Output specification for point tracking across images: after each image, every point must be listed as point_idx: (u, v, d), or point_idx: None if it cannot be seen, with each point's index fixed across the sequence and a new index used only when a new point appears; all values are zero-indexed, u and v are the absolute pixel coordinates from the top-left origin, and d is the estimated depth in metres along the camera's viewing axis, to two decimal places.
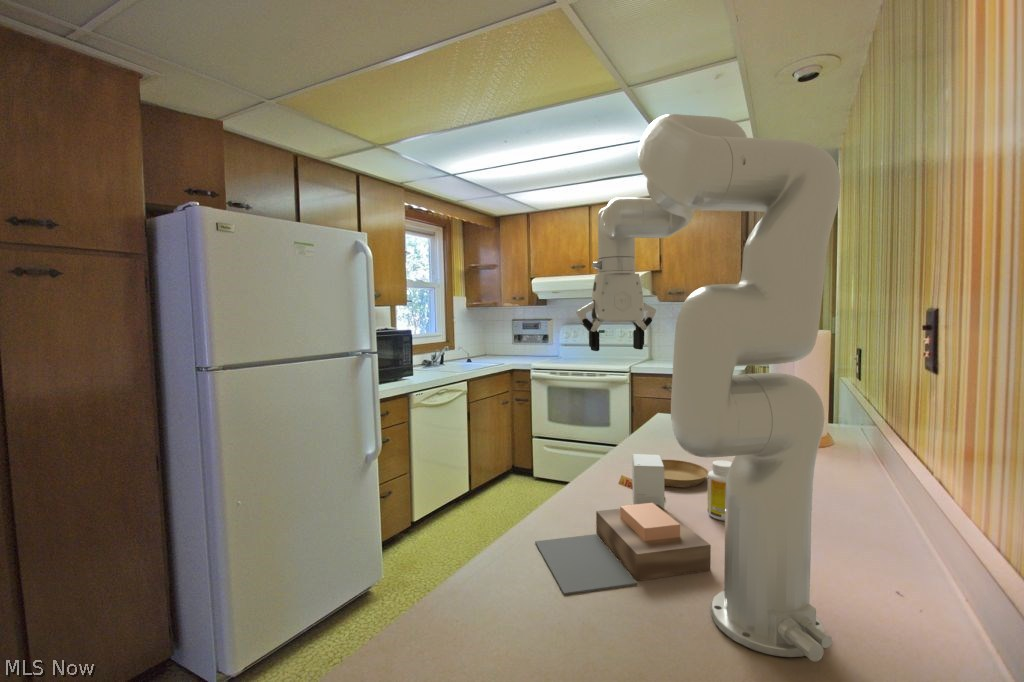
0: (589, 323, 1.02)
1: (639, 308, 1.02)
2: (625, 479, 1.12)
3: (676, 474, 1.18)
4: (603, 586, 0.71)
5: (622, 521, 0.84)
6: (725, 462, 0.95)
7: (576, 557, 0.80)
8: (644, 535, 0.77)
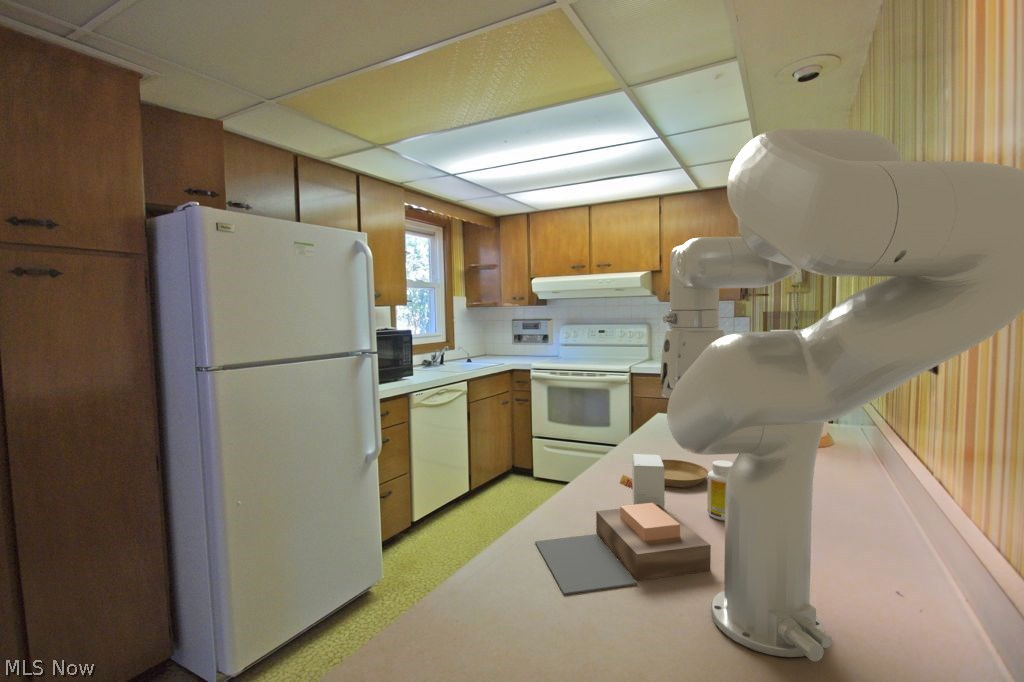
0: None
1: None
2: (626, 479, 1.12)
3: (676, 474, 1.18)
4: (603, 586, 0.71)
5: (622, 521, 0.84)
6: (725, 462, 0.95)
7: (576, 557, 0.80)
8: (644, 535, 0.77)
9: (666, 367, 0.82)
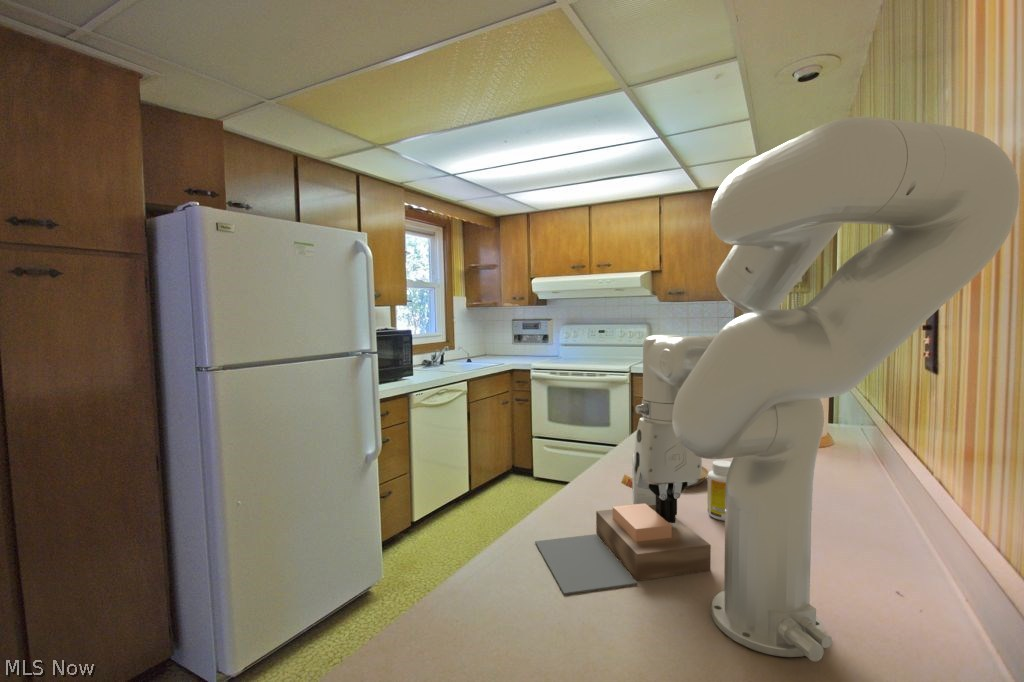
0: (657, 489, 0.81)
1: (696, 465, 0.80)
2: (627, 479, 1.12)
3: None
4: (603, 586, 0.71)
5: None
6: (725, 462, 0.95)
7: (576, 557, 0.80)
8: (635, 536, 0.77)
9: (639, 456, 0.82)
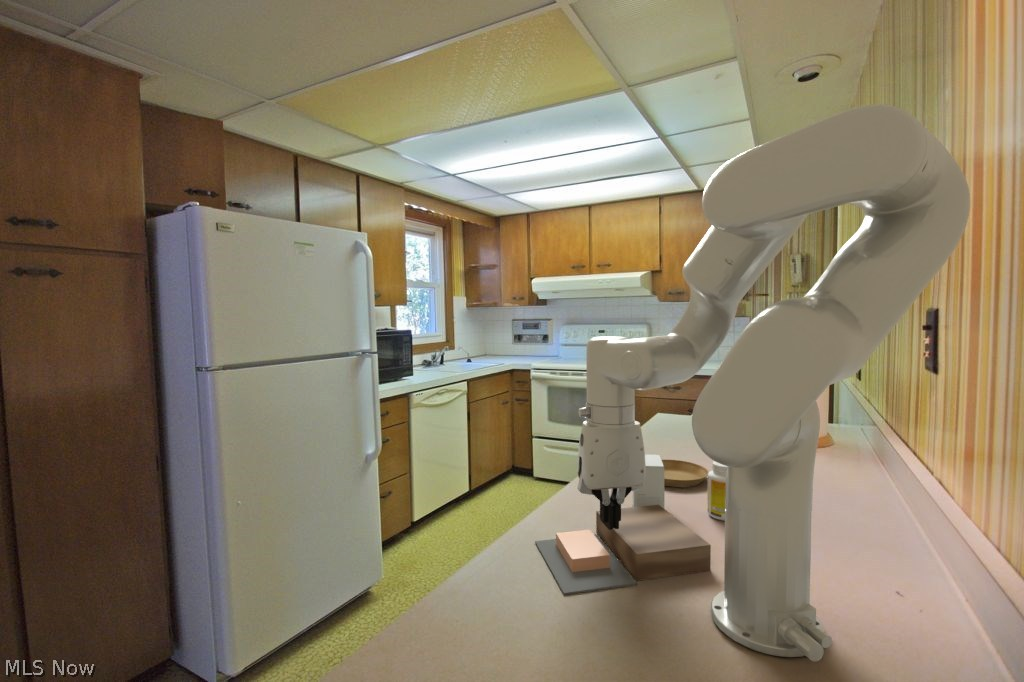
0: (600, 494, 0.79)
1: (640, 469, 0.78)
2: None
3: (676, 474, 1.18)
4: (603, 586, 0.71)
5: (622, 521, 0.84)
6: None
7: None
8: None
9: None
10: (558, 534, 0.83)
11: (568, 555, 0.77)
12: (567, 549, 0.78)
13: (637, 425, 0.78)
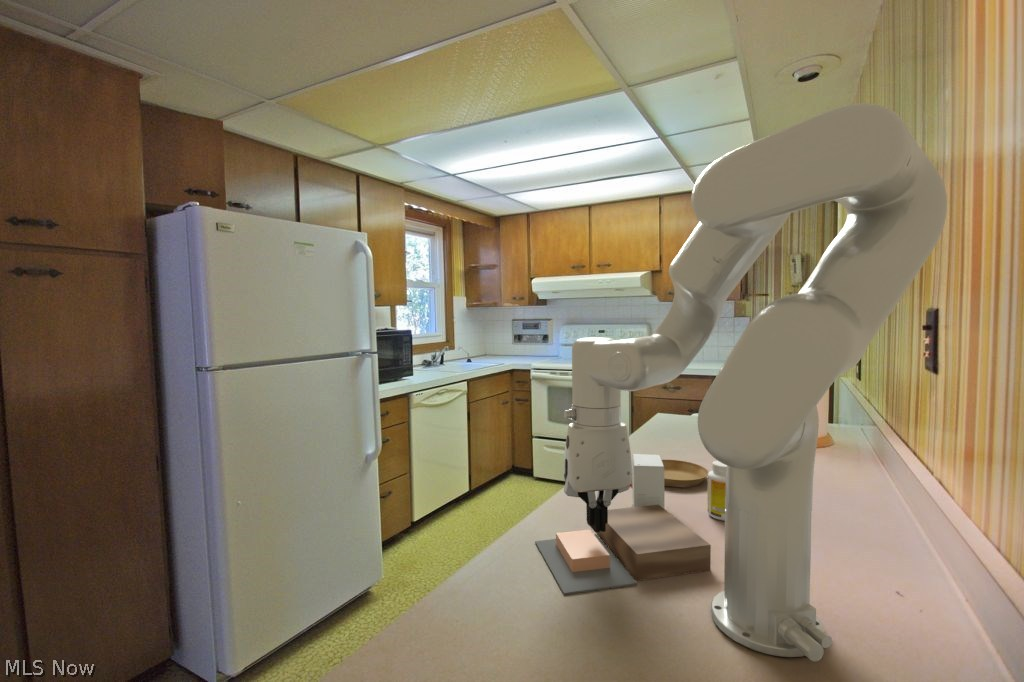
0: (587, 496, 0.78)
1: (626, 471, 0.78)
2: None
3: (676, 474, 1.18)
4: (603, 586, 0.71)
5: (622, 521, 0.84)
6: None
7: None
8: None
9: None
10: (558, 534, 0.83)
11: (568, 555, 0.77)
12: (567, 549, 0.78)
13: (623, 427, 0.77)
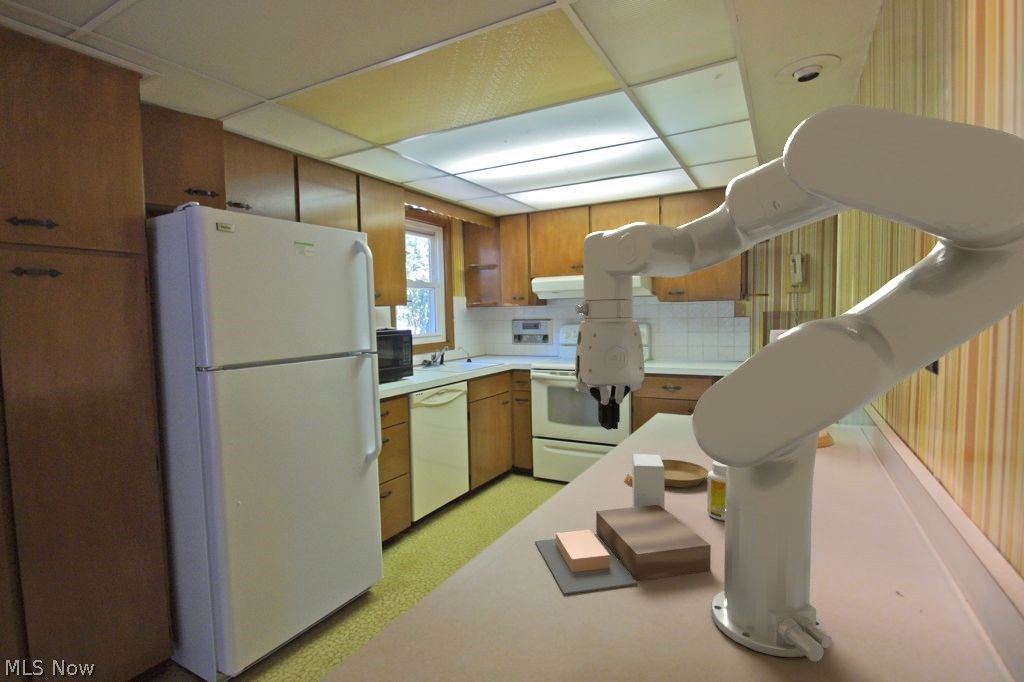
0: (599, 393, 0.78)
1: (638, 367, 0.77)
2: (629, 478, 1.13)
3: (676, 474, 1.18)
4: (603, 586, 0.71)
5: (622, 521, 0.84)
6: None
7: None
8: None
9: (580, 360, 0.78)
10: (558, 534, 0.83)
11: (568, 555, 0.77)
12: (567, 549, 0.78)
13: (635, 321, 0.77)
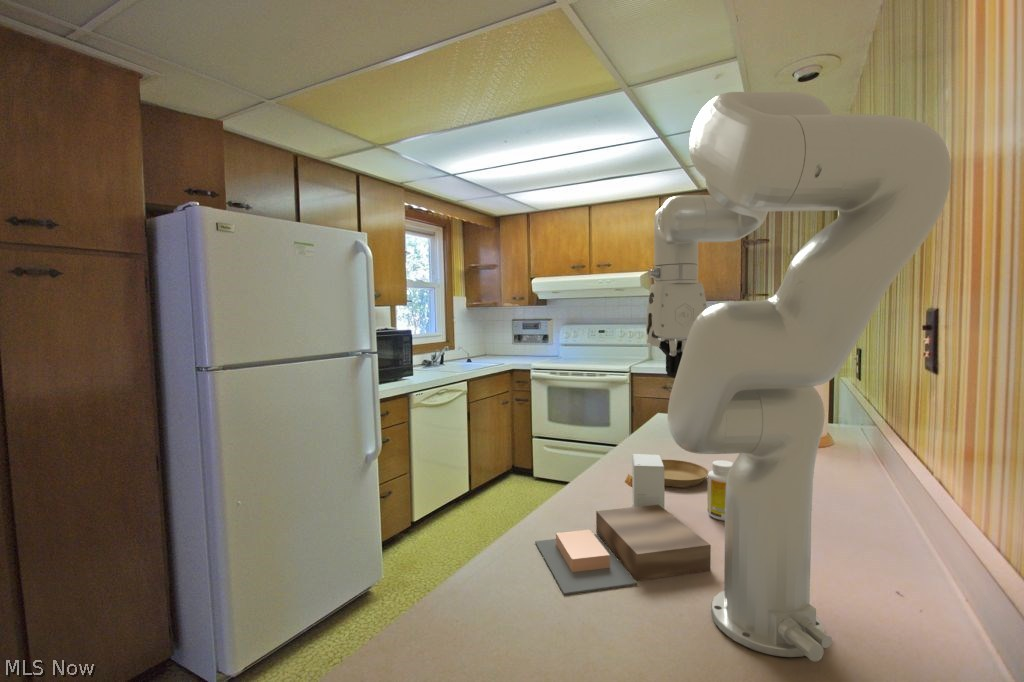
0: (668, 346, 0.89)
1: None
2: (630, 478, 1.13)
3: (676, 474, 1.18)
4: (603, 586, 0.71)
5: (622, 521, 0.84)
6: (725, 462, 0.95)
7: None
8: None
9: (651, 318, 0.90)
10: (558, 534, 0.83)
11: (568, 555, 0.77)
12: (567, 549, 0.78)
13: (700, 283, 0.88)
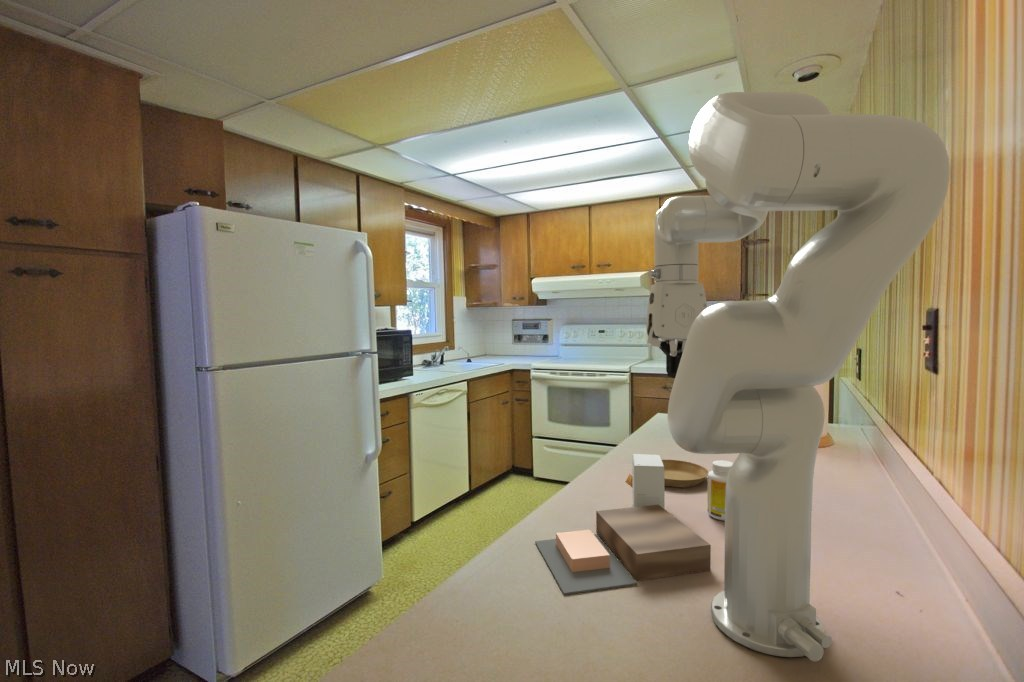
0: (668, 346, 0.89)
1: None
2: (631, 478, 1.13)
3: (676, 474, 1.18)
4: (603, 586, 0.71)
5: (622, 521, 0.84)
6: (725, 462, 0.95)
7: None
8: None
9: (651, 318, 0.90)
10: (558, 534, 0.83)
11: (568, 555, 0.77)
12: (567, 549, 0.78)
13: (701, 284, 0.88)
